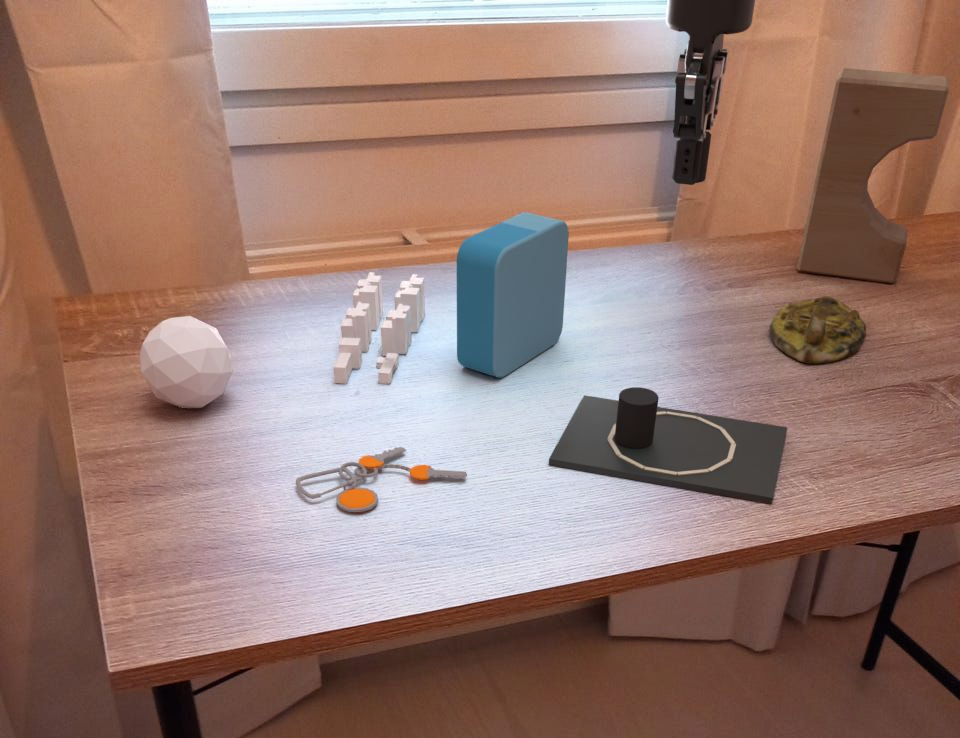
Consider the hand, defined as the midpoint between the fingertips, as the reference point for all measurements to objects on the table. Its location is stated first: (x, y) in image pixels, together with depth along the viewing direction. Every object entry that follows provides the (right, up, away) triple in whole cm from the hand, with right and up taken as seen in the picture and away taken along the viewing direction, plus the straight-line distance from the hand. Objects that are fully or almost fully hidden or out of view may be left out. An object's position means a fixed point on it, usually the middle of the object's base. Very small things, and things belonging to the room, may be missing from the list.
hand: (689, 176), depth 98 cm
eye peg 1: (-7, -28, -13) cm, 32 cm away
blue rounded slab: (-17, -17, +1) cm, 24 cm away
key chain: (-28, -32, -17) cm, 46 cm away
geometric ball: (-46, -24, -7) cm, 52 cm away
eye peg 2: (0, 0, 0) cm, 0 cm away
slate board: (-4, -29, -13) cm, 32 cm away
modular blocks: (-30, -16, +3) cm, 34 cm away
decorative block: (+22, -2, +20) cm, 30 cm away
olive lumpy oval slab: (+14, -14, +6) cm, 21 cm away
